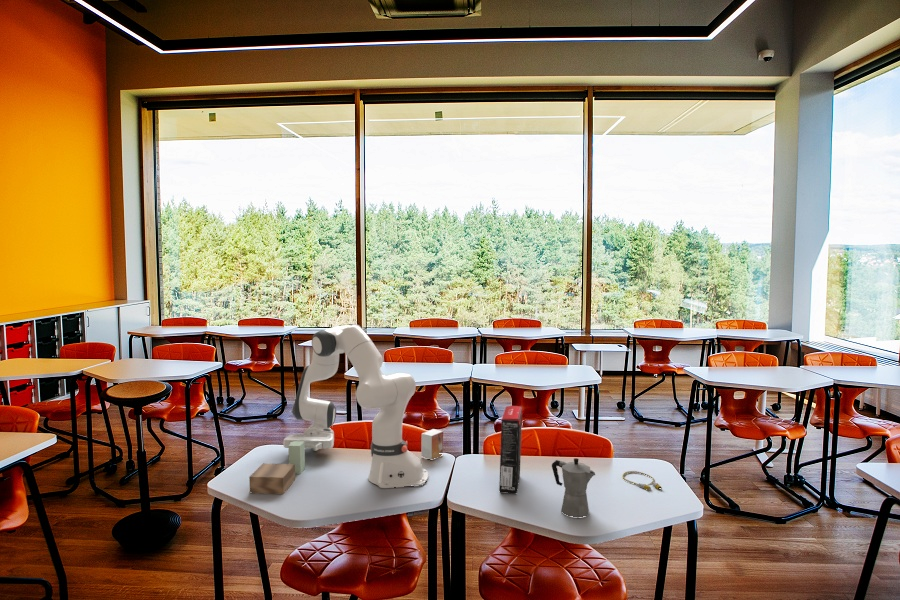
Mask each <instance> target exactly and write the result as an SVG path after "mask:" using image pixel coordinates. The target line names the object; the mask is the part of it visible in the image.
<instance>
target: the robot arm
mask: <svg viewBox="0 0 900 600" xmlns="http://www.w3.org/2000/svg"><path fill="white" fill-rule="evenodd" d="M311 347H312V357H311V363H310V364H309V365H307V366H306V367H305V368H304V370H303V371H302V373H301V377H300V381H299V384H298V388H297V389H298V390H297V393H296V396H295V400H294V403H293V405H292V409H291V411H292V412H291V413H292V415H293V416H294V418H295V419H296V420H299V421H309V422H312V423H311V424H310V426H308V427H307V429H306V430H304V432H303V433H302V434H300V433H299V434H297V433H296V434H295V433H293V434H288V435H287V436H286V437H284V439H283V448H284V449H289V445H290V444H291V443H292V442H293V441H304V448H305V449H312V451H315V452H316V451H318V450H321V449H323V450H324V449H325V450H331V449H333V447H334V444H335V443H334V442H335V432H334V430H333V429H331V428H330V427H331V426H332V427H333V425H334V423H335V421H336V417H337V408H336V407H335V404H334V402H333V401H329V400H325V399H319V398H318V399H317V398H313V397H309V396H308V393H309V390H310V385H311V383H315V382H319V381H324V380H327V379H329V378H332V377H333V376H335V374H336V373H337V372H338V370H339V369H338V368H339V363H340V354H345V355H346V356H347V358H348V360H349V361H350V363H351V365H352V366H353V368H354V370H355V371H356V374H357V377H358V381H359V382H358V385H357V387H356V391H355V398H356V399H355V400H356V401H357V403H358V405H359V406H360V407H361V408H362V409H365V410H377V409H379V411H378V412H377V414H376V415H375V416H374V418H373V419H372V423H371V426H372V428H371V430H372V431H371V437H372V438H371V439H372V440H371V442H370V443H371V444H370V454H371V456H370V457H371V464H370V470H369V473H368V478H367V479H368V481H369V482H370V483H372V484H375V485H377V486H378V487H379V488H380V489H393V488H394V487H396V488H405V487H404V486H411V485H422V484H424V483H425V482H426V481H427V482H428V480H429V471H428V470H427V469H425V468H424V467H423V465H422V461H421V459H420V457H418V456H416V454H414V453H412V451H409V450H408V440H406V441H405V440H404V439H403V421H404V415H405V412H406V409H407V406H408V404H409V401H410V400H411V398H412V396H414V394H415V393H416V389H417V387H416V386H417V384H416V380H415V378H414V377H413V376H412V375H411V374H410V373H407V372H394V373H390V374H385V375H384V374H383V373H382V371H381V367H382V365H383V364H384V363H383V361H384V358H383V355H382V354H381V352H380V351H379V350H378V348H377V347H376V345H375V343H374V342H373V340H372V339H371V338H370V337H369V335H368V334H367V333H366V332H365V331H364V330H363V327H361V326H360V325H359V324H356V323H349V324H344V325H338V326H332V327H329V328H326V329H321V330H319V331H317V332H315V333H313V336H312V338H311ZM427 479H428V480H427ZM427 482H426V483H427ZM426 483H425V484H426ZM425 484H424V485H425ZM422 486H423V485H422Z"/></svg>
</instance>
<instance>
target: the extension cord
mask: <svg viewBox="0 0 900 600" xmlns="http://www.w3.org/2000/svg"><path fill="white" fill-rule="evenodd" d="M627 473H628V474H637V473H641V474H640V475H642V474H645V475H647V476H646V477H648V476H649V477H648V478H650V477H651V478H653V479H652V481H651V482H650V483H649V484H650V485H652V487H653V488H654V487H655V489H657V490H660V489H659V488H661V490H662V489H663V488H662V486H661V485H660V484H659V483H657V482H656V481H655V478H654V477H652V476H651V475H649V474H647V473H644V472H642V471H641V472H640V471H635V470H629V471H624V472H623V474H622V480H623V479H624V480H626V481H627V482H630V484H631V483H634V484H633V485H636V484H637V486H638V487H639V486H640V487H639V488H640V489H642V488H644V489H643V490H645V489H647V490H646V491H650V490H651V486H650V485H646V484H645V483H636V482H634V481H630V480H628V479H626V478H625V476H626V475H627ZM625 474H626V475H625ZM624 475H625V476H624ZM645 475H644V476H645ZM651 478H650V479H651ZM626 481H625V482H626ZM653 481H654V482H653ZM651 483H652V484H651ZM649 489H650V490H649Z"/></svg>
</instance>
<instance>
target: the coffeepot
mask: <svg viewBox="0 0 900 600" xmlns="http://www.w3.org/2000/svg"><path fill="white" fill-rule="evenodd" d="M579 461H580V459H579V458H573V461H571V462H570V461H569V462H566V461H562V460H558V459H555V460H554V461H553V462H552V463H551V468H552V469H551V470H552V472H553V475H554V480H555V483H556V485H557V486H561V487H562V486H563V487H564V493H563V494H564V495H563V499H562V505H561V509H560V510H561V511H560V512H561V513H562V512H563V513H564V514H566V515H568V516H573V517H583V516H586V517H588V516H589V513H590V509H589V501H588V495H587V489H588V484H589V483H590V480H591V479H592V478H593V477H594V476H596V472H594V470H591V466H589V465H586V464H585V463H583V462H579ZM558 467H559V468H561V470H562V471H561V472H562V473H561V474H562V479H563V481H562V482H560V475H559V472H558V470H559V469H558ZM563 513H562V514H563ZM564 514H563V515H564ZM566 515H565V516H566ZM568 516H567V517H568Z"/></svg>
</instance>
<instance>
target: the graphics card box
mask: <svg viewBox="0 0 900 600" xmlns="http://www.w3.org/2000/svg"><path fill="white" fill-rule="evenodd" d="M522 422H523V406H520V405H519V406H518V405H508V406H505V409H504V411H503V415H502V418H501V423H500V424H501V427H500V428H501V430H500V452H499V453H500V455H499V459H500V460H499V486H498V487H499V488H498V490H499V491H500V492H499V493H501V492H508V493H507V494H511V493H518V490H519V484H520V477H521V459H522V457H521V456H522V453H521V452H522V424H523V423H522ZM518 483H519V484H518ZM517 489H518V490H517Z"/></svg>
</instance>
